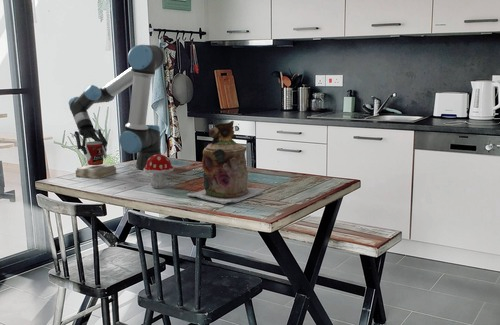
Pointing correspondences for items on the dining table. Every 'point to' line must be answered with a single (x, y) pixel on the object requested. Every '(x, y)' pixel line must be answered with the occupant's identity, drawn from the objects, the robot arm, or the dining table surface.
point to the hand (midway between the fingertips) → (97, 157)
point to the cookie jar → (225, 168)
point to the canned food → (95, 152)
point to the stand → (95, 171)
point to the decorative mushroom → (158, 170)
